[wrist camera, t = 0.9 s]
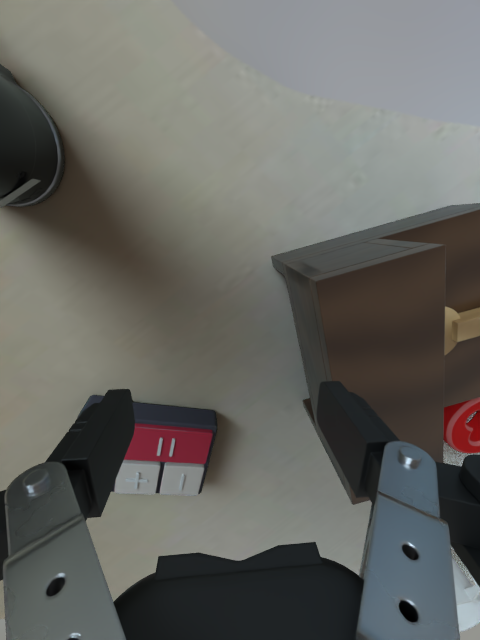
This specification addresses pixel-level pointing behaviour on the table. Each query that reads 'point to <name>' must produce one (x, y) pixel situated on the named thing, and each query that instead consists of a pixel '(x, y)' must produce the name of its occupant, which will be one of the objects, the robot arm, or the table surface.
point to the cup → (466, 599)
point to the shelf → (390, 320)
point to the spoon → (460, 326)
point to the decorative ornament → (463, 426)
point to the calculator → (166, 450)
